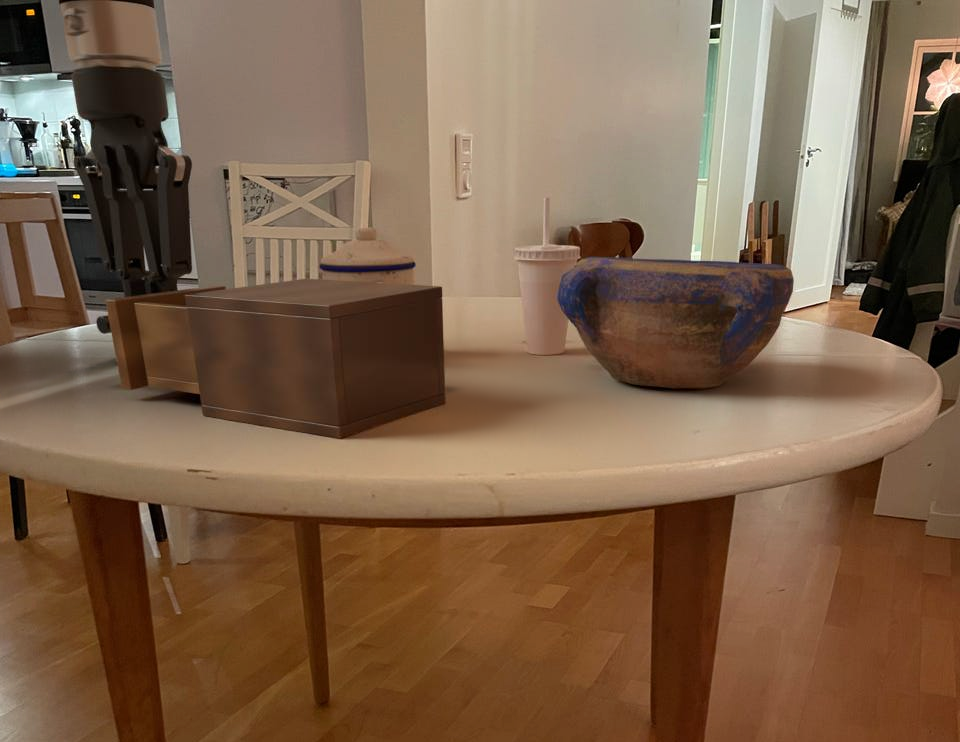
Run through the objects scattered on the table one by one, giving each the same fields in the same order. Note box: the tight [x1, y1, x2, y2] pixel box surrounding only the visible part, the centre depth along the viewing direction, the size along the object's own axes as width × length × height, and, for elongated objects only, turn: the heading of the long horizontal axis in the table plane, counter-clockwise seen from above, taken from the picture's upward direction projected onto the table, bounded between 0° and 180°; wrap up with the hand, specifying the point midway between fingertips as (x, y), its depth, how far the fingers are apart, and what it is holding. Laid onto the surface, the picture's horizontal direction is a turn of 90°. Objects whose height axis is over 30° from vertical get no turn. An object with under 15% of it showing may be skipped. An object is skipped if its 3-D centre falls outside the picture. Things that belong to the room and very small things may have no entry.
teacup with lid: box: [319, 227, 417, 285], centre depth 87 cm, size 12×9×12 cm
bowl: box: [557, 256, 795, 390], centre depth 77 cm, size 18×18×10 cm
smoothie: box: [513, 196, 582, 356], centre depth 89 cm, size 6×6×14 cm
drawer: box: [95, 285, 227, 395], centre depth 75 cm, size 18×11×7 cm, turn 57°
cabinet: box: [185, 278, 446, 439], centre depth 69 cm, size 14×13×9 cm
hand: (159, 352), depth 89 cm, fingers closed on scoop, 2 cm apart
